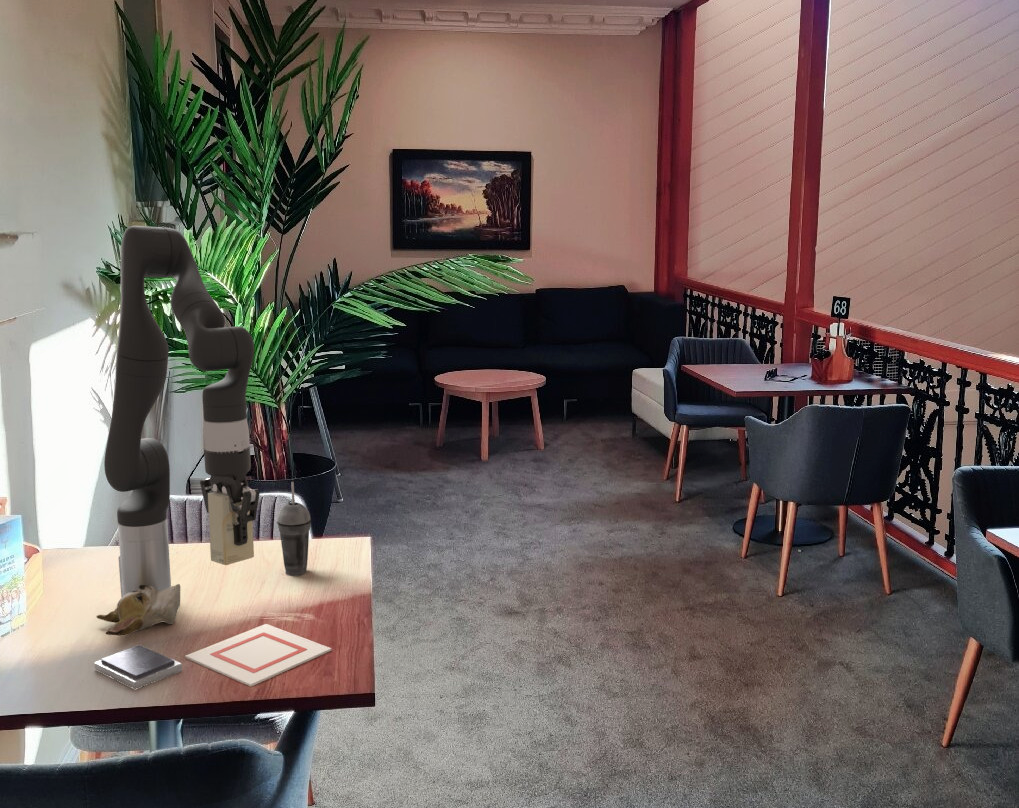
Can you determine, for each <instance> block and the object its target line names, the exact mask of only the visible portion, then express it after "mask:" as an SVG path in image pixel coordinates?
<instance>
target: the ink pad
mask: <svg viewBox="0 0 1019 808" xmlns="http://www.w3.org/2000/svg"><path fill="white" fill-rule="evenodd" d="M93 666H94V670H95V669H96V670H98V671H100V672H102V673H104V674H106V675H108V676H111V677H112V678H114V679H116V680H118V681H120V682H122V683H124V684H126V685H128V686H130V687H133V688H134V689H136V688H139V687H141V686H144V685H146V684H149V683H151V682H154V681H156V682H158V681H157V680H159V681H161V680H163V678H164V679H166V678H168V677H171V676H174V675H176V674H178V673H180V672H182V671H183V669H182V668H183V666H182V662H179V661H177V660H175V659H174V658H173V659H172V658H170V657H168V656H167V655H163V654H161V653H159V652H157V651H155V650H152V649H150V648H148V647H145V646H143V645H141V644H137V645H135V646H133V647H130V648H126V649H124V650H122V651H119V652H116V653H114V654H111V655H108V656H106V657H103V658H100V660H97V661H95V662H94V665H93ZM100 672H99V673H100ZM102 673H101V674H102ZM104 674H103V675H104ZM106 675H105V676H106ZM108 676H107V677H108ZM165 677H166V678H165ZM112 678H111V679H112ZM114 679H113V680H114ZM160 679H161V680H160ZM116 680H115V681H116ZM118 681H117V682H118ZM120 682H119V683H120ZM122 683H121V684H122ZM154 683H155V682H154ZM124 684H123V685H124ZM151 684H152V683H151ZM126 685H125V686H126ZM149 685H150V684H149ZM128 686H127V687H128ZM146 686H147V685H146ZM130 687H129V688H130ZM144 687H145V686H144ZM141 688H142V687H141ZM134 689H133V690H134ZM139 689H140V688H139Z"/></svg>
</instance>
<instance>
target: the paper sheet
mask: <svg viewBox="0 0 1019 808" xmlns="http://www.w3.org/2000/svg"><path fill="white" fill-rule="evenodd" d="M331 651H332V648H331V647H329V646H326V645H323V644H322V643H321V644H320V643H318V642H316V641H313V640H310V639H307V638H305V637H302V636H300V635H298V634H294V633H292V632H289V631H286V630H284V629H281V628H279V627H276V626H273V625H271V624H268V623H264V624H262V625H259V626H256V627H254V628H252V629H250V630H247V631H245V632H242V633H239V634H237V635H234V636H231V637H229V638H227V639H224V640H221V641H219V642H217V643H214V644H211V645H209V646H207V647H204V648H201V649H199V650H196V651H194V652H192V653H189V654H186V655H184V657H185V659H187V660H190V661H191V662H193V663H196V664H198V665H200V666H202V667H205V668H207V669H209V670H212V671H214V672H217V673H219V674H221V675H223V676H225V677H228V678H230V679H232V680H234V681H237V682H240V683H242V684H244V685H245V686H249V687H253V686H255V685H256V686H257V685H258V684H260V683H262V682H265V681H267V680H269V679H271V678H274V677H276V676H277V675H280V674H282V673H284V672H287V671H289V670H291V669H293V668H295V667H298V666H300V665H302V664H304V663H307V662H309V661H311V660H313V659H315V658H316V659H317V658H318V657H320V656H322V655H325V654H327V653H329V652H331Z"/></svg>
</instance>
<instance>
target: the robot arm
mask: <svg viewBox="0 0 1019 808" xmlns="http://www.w3.org/2000/svg"><path fill="white" fill-rule="evenodd" d="M120 244H121V245H120V312H119V313H120V315H119V316H120V317H119V324H118V325H119V328H118V338H117V346H116V355H115V375H114V377H115V378H114V380H115V381H114V382H115V383H114V393H113V401H112V402H113V404H112V412H111V419H110V426H109V430H108V431H109V432H108V436H107V442H106V447H105V452H104V459H103V460H104V461H103V463H104V466H103V467H104V474H105V477H106V480H107V482H108V484H109V486H110V487H112V489H114V491H117V492H122V493H125V492H131V493H130V495H129V496H128V497H127V499H126V500H125V501H124V502H122V503H121V504H120V505H119V507H118V508H117V512H116V517H117V518H116V519H117V529H118V530H117V531H118V533H117V534H118V542H119V543H118V544H119V556H118V570H119V583H120V599H121V598H122V597H123V596H124V595H125V594H126V593H130V592H132V591H138V588H139V586H140V585H148V586H152V587H153V588H154V589H155V590H157V591H162V590H165V589H167V588H168V587H172V577H171V561H170V545H169V532H168V527H169V526H168V515H167V514H168V513H167V512H168V509H169V508H168V507H170V506H169V505H170V501H171V500H170V499H171V491H170V490H171V482H170V481H171V479H170V477H171V474H170V473H171V472H170V469H171V468H170V460H169V456H168V453H167V450H166V448H165V446H164V445H163V443H161V442H160V440H158V439H157V438H153V437H144V438H142V434H143V429H144V426H145V422H146V420H147V418H148V416H149V414H150V412H151V410H152V408H153V406H154V405H155V403H156V402H157V400H158V398H159V397H160V394H161V392H162V390H163V388H164V387H165V383H166V380H167V374H168V363H169V351H170V349H169V344H168V342H167V339H166V337H165V335H164V333H163V332H164V331H162V328H161V327H160V326H159V324H158V322H157V321H156V319H155V318H154V316H153V314H152V312H151V310H150V307H149V305H148V302H147V299H146V294H145V279H146V278H164V279H165V278H173V279H175V280H176V284H175V285H174V288H172V289H173V290H172V293H171V294H170V295H171V296H170V306H171V310H172V313H173V315H174V317H175V319H176V320H177V322H178V323H179V324H180V326H181V328H182V330H183V331H184V334H185V338H186V341H187V349H188V350H187V351H188V357H189V360H190V362H191V364H192V365H193V367H195V368H196V369H198V370H200V371H203V372H215V371H224V370H227V372H226V374H225V376H224V377H223V378H222V379H221V380H219V381H218V382H214V383H211V384H209V385H206V386H205V387H204V388H203V390H202V397H201V399H202V412H203V413H202V414H203V429H202V437H203V450H204V451H203V454H204V456H203V457H204V470H205V473H206V474H207V475H209V476H210V477H209V478H205V479H201V480H200V481H199V485H200V489H201V493H202V499H203V502H204V505H205V506H204V507H205V510H206V513H207V514H209V510H208V493H211V492H215V493H219V492H222V493H223V495H226V496H229V511H230V512H232V518H233V522H234V525H233V530H234V544H235V545H237V546H240V545H243V544H246V543H247V540H248V533H247V523H248V522H250V521H252V522H254V521H255V520H256V518H257V512H258V506H259V500H260V490H259V489H258V488H255V489H252V488H251V487H249V483H248V480H247V474H248V472H250V471H251V468H252V463H251V447H250V446H251V445H250V444H251V443H250V442H251V441H250V430H249V425H248V418H247V417H248V415H247V403H246V402H247V400H246V399H247V398H246V397H247V389H248V382H249V377H250V372H251V368H252V364H253V361H254V360H253V359H254V355H255V343H254V339H253V337H252V335H251V334H250V333H251V332H249V331H248V330H247V329H246V327H245V328H244V327H242V326H228V327H225V325H226V319H225V316H224V314H223V312H222V310H221V308H220V307H219V306H218V304H217V302H216V301H215V300H214V298H213V297H212V296H211V294H210V293H209V291H208V290H207V288H206V286H205V284H204V281H203V279H202V276H201V273H200V271H199V268H198V265H197V263H196V260H195V257H194V256H193V252H192V249H191V247H190V245H189V243H188V241H187V240H186V238H185V236H184V235H183V233H182V232H180V231H179V230H177V229H175V228H170V227H160V226H149V225H147V226H145V225H130V226H128V227H127V228H125V231H124V233H123V234H122V239H121V243H120ZM231 495H232V496H231ZM241 501H242V505H239V506H234V504H236V503H239V502H241ZM233 503H234V504H233ZM238 510H241V513H240V517H239V515H238ZM248 511H250V514H248Z"/></svg>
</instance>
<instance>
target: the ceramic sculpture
mask: <svg viewBox="0 0 1019 808" xmlns="http://www.w3.org/2000/svg"><path fill="white" fill-rule="evenodd" d="M116 605H117V606H116V608H115V609H114V610H112V611H110V612H109V613H107V614H97V615H96V618H97V619H98V620H102V621H105V622H109V623H114V624H113V626H112V627H111V629H109V630H107V631H106V632H104V634H105V635H108V636H129V635H130V634H132V633H134V632H136V631H140V630H144V629H147V628H149V627H151V626H153V625H156V624H159V623H162V622H163V623H166V624H168V625H172V624H173V623H174V622H175V621H176V618H177V615H178V614H177V613H178V611H179V608H180V606H181V584H179V583H178V584H175V585H171V587H168V588H167V589H165V590H162V591H157V590H155V589H154V588H153V587H152V586H148V585H140V586H139V588H138V591H132V592H130V593H126V594H125V595H124V596H123V597H122V598H121V597H120V599H119V600H118V602H117V604H116Z"/></svg>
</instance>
